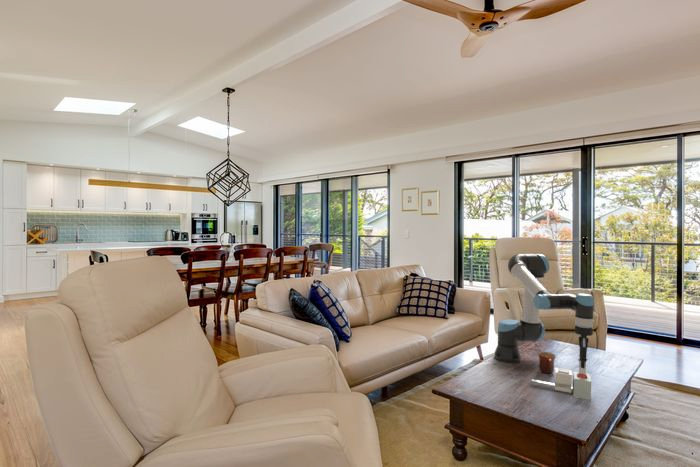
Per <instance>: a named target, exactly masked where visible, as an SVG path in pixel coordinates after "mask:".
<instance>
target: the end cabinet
mask: <svg viewBox="0 0 700 467" xmlns="http://www.w3.org/2000/svg"><path fill="white" fill-rule="evenodd" d="M572 373H573V374H572V387H573V394H572V395H573V398H577V399H581V400H586V401H591V400H592V379H591V378H592V377H591V374H589V373H586V375H587V376H586V379H585V378H579V377H578V373H579V371H573V372H572Z"/></svg>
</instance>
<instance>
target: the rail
mask: <svg viewBox="0 0 700 467" xmlns="http://www.w3.org/2000/svg"><path fill="white" fill-rule="evenodd" d="M530 386H532V387H535V386H536V388H540V389H541V388H542V389H546V390H551V391H557V392H562V393H567V394H572V395H573V386H571V393H569V392H564V391H559V390H555V382H548V381H543V380H538V379H534V378H533V379H532V378H531V379H530Z"/></svg>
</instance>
